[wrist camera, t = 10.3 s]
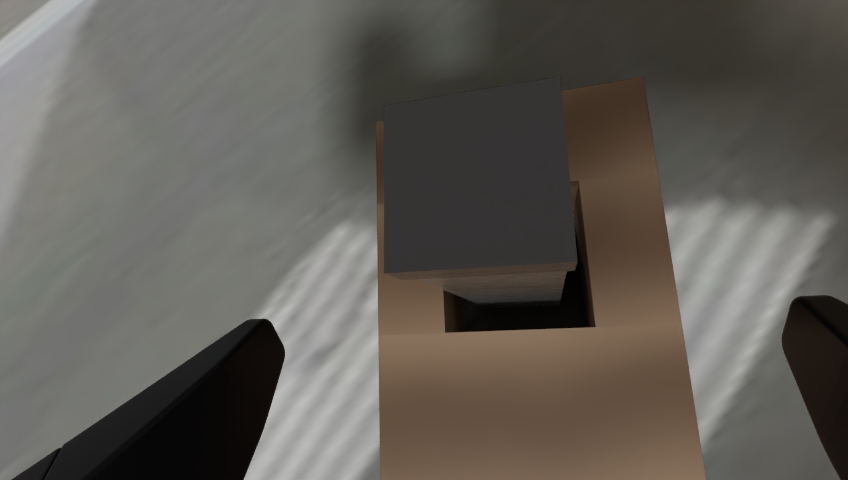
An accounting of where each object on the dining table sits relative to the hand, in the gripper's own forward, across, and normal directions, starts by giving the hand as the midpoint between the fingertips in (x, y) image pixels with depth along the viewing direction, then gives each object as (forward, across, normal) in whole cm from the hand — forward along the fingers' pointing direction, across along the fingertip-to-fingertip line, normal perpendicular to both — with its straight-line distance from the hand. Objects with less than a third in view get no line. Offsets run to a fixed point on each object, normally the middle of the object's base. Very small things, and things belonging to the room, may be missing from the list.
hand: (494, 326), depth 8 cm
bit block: (+7, 0, +9) cm, 12 cm away
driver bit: (+10, 0, +6) cm, 12 cm away
